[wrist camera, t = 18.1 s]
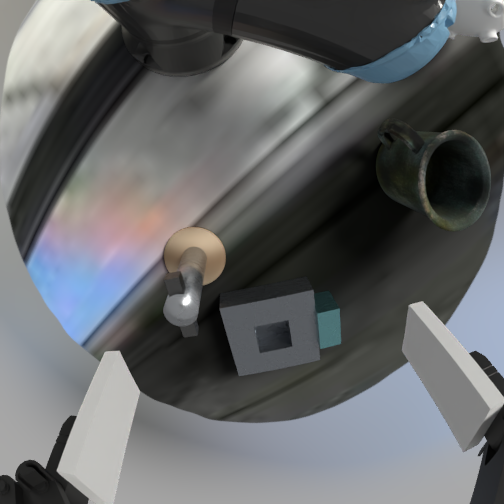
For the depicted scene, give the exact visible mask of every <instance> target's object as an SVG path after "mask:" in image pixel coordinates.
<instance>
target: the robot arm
mask: <svg viewBox="0 0 504 504" xmlns="http://www.w3.org/2000/svg"><path fill="white" fill-rule="evenodd" d="M91 1H95V3H97V4H98V5H99V6H101V7H102V8H103V9H104V10H105V11H106V12H107V13H108V14H110V15H111V16H112V17H113V18H114V19H115V20H116V21H117V22H118V23H119V24H121V25H122V36H123V40H124V43H125V45H126V47H127V49H128V51H129V52H130V54H131V55H132V56H133V57H134V58H135V59H136V60H137V61H138V62H139V63H141V64H142V65H143V66H144V67H146V68H148V69H149V70H151V71H154V72H156V73H159V74H162V75H167V76H191V75H196V74H200V73H203V72H206V71H208V70H211V69H213V68H215V67H217V66H218V65H220V64H222V63H223V62H224V61H226V60H227V59H228V58H229V57H230V56H232V55H233V54H234V52H235V51H236V50H237V49H238V48H239V46H240V45H241V43H242V41H243V39H244V40H248V41H252V42H256V43H260V44H263V45H267V46H270V47H274V48H277V49H280V50H284V51H287V52H290V53H293V54H296V55H299V56H302V57H305V58H308V59H311V60H313V61H316V62H319V63H322V64H324V66H325V67H326V68H328V69H330V70H332V71H335V72H341V73H347V74H350V75H353V76H355V77H358V78H360V79H363V80H365V81H368V82H372V83H392V82H396V81H399V80H402V79H404V78H406V77H408V76H410V75H412V74H414V73H415V72H417V71H418V70H420V69H421V68H422V67H424V66H425V65H426V64H427V63H428V62H429V61H430V60H431V59H433V58H434V56H435V55H436V54H437V53H438V52H439V51H440V49H441V48H442V47H443V45H444V44H445V42H446V40H447V39H448V37H449V35H450V32H449V30H448V27H449V26H451V25H453V24H454V23H455V19H456V14H457V6H456V1H455V0H91ZM402 352H403V353H404V355H405V356H406V358H407V359H408V361H409V362H410V364H411V365H412V367H413V369H414V370H415V372H416V373H417V375H418V376H419V378H420V380H421V381H422V383H423V384H424V386H425V388H426V389H427V391H428V392H429V394H430V396H431V397H432V399H433V400H434V402H435V404H436V406H437V407H438V409H439V411H440V412H441V414H442V415H443V417H444V419H445V420H446V422H447V424H448V426H449V427H450V429H451V431H452V432H453V434H454V436H455V438H456V440H457V441H458V443H459V445H460V447H461V449H462V450H463V452H465V451H467V450H468V449H470V448H472V447H474V446H476V445H478V444H479V442H480V441H481V440H482V438H483V437H484V436H485V438H486V440H487V442H486V443H485V445H484V446H483V447H482V449H481V450H480V452H479V454H478V456H480V455H481V454H482V453H483V457H482V461H481V466H480V470H479V474H478V478H477V482H476V485H475V488H474V492H473V495H472V498H471V502H470V504H504V378H503V377H502V376H501V375H500V373H498V372H497V370H496V368H495V367H494V366H492V364H491V362H490V361H489V360H488V359H487V358H486V357H485V356H484V355H482V354H480V353H479V352H477V351H474V352H471V353H468V352H467V351H466V350H465V348H464V347H463V346H462V345H461V344H460V342H459V341H458V340H457V339H456V338H455V337H454V336H453V335H452V333H451V332H450V331H449V330H448V329H447V328H446V326H445V325H444V324H443V323H442V322H441V321H440V320H439V319H438V318H437V316H436V315H435V314H434V313H433V312H432V311H431V310H430V309H429V308H428V307H427V306H426V304H425V303H424V302H423V301H422V302H418V303H415V304H411V305H409V308H408V315H407V322H406V329H405V335H404V341H403V347H402ZM139 394H140V391H139V389H138V387H137V385H136V383H135V381H134V379H133V377H132V375H131V373H130V371H129V369H128V367H127V365H126V363H125V361H124V359H123V357H122V355H121V353H120V351H107V352H105V353H104V355H103V358H102V360H101V362H100V364H99V366H98V368H97V371H96V373H95V375H94V378H93V380H92V382H91V384H90V387H89V389H88V391H87V393H86V396H85V398H84V401H83V403H82V405H81V408H80V410H79V413H78V415H77V416H70V417H69V418H68V419H67V420H66V421H65V423H64V424H63V426H62V428H61V430H60V433H59V436H58V438H57V440H56V444H55V445H54V448H53V450H52V453H51V455H50V458H49V461H48V463H47V466H46V469H44V468H43V467H42V466H41V465H40V464H39V463H38V462H36V461H34V460H28V461H24V462H23V463H22V464H20V465H19V467H18V468H17V470H16V474H15V476H16V480H17V481H18V482H16V481H14V480H13V479H12V478H11V477H9V476H8V475H2V476H0V504H88V500H89V499H90V500H91V501H92V502H93V503H95V504H114V500H115V495H116V490H117V485H118V480H119V476H120V471H121V467H122V462H123V457H124V454H125V449H126V445H127V441H128V437H129V433H130V429H131V425H132V421H133V417H134V413H135V410H136V406H137V402H138V398H139ZM483 451H484V452H483Z"/></svg>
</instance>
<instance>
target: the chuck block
mask: <svg viewBox="0 0 504 504" xmlns="http://www.w3.org/2000/svg"><path fill="white" fill-rule="evenodd" d="M219 309H220V312H221V316H222V319H223V323H224V327H225V330H226V333H227V337H228V340H229V344H230V347H231V351H232V354H233V357H234V361H235V364H236V367H237V371H238V374H239V376H243V375H249V374H254V373H260V372H265V371H271V370H276V369H281V368H286V367H290V366H295V365H300V364H304V363H309V362H313V361H317V360H320V354H319V347H320V349H322V348H326V347H330V346H334V345H338V344H341V330H340V309H339V307H338V305H337V303H336V302H335V300H334V298H333V297H332V295H331V293H330V292H329V291H325V292H320V293H316V294H314V291H313V288H312V286H311V284H310V282H309V280H308V278H307V276H306V277H301V278H296V279H291V280H286V281H282V282H277V283H272V284H267V285H262V286H257V287H252V288H247V289H241V290H236V291H231V292H226V293H220V308H219Z"/></svg>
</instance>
